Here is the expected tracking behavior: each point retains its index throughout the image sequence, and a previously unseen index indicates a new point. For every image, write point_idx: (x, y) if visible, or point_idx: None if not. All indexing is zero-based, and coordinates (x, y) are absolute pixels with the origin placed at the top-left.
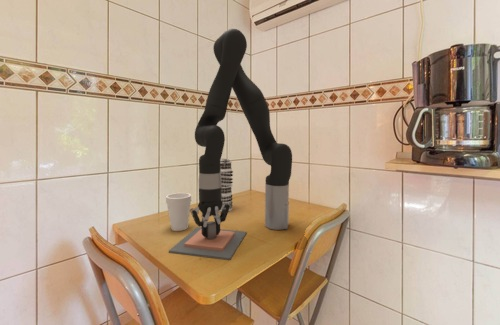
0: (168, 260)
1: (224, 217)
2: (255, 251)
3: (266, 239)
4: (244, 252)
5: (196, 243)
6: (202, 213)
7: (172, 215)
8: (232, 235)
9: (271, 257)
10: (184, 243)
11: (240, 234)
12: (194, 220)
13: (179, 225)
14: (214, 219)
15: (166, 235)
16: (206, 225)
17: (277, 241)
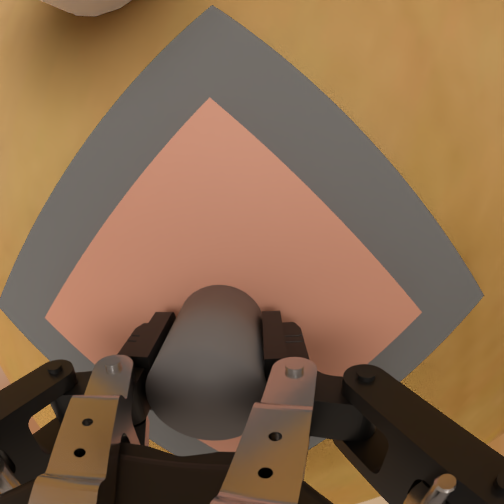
0: (13, 364)
1: (366, 456)
2: None
3: (479, 394)
4: (326, 463)
5: (106, 355)
6: (65, 443)
7: None
8: (377, 351)
9: (376, 497)
10: (54, 268)
11: (437, 320)
12: (17, 387)
13: (67, 5)
14: (266, 390)
15: (13, 71)
16: (147, 423)
17: (486, 418)
